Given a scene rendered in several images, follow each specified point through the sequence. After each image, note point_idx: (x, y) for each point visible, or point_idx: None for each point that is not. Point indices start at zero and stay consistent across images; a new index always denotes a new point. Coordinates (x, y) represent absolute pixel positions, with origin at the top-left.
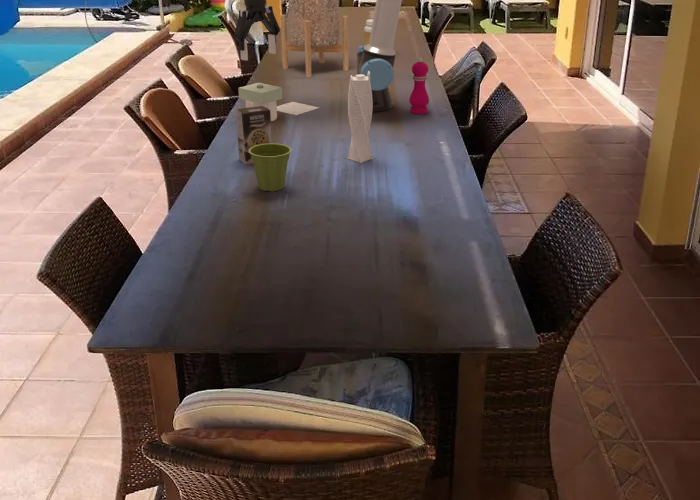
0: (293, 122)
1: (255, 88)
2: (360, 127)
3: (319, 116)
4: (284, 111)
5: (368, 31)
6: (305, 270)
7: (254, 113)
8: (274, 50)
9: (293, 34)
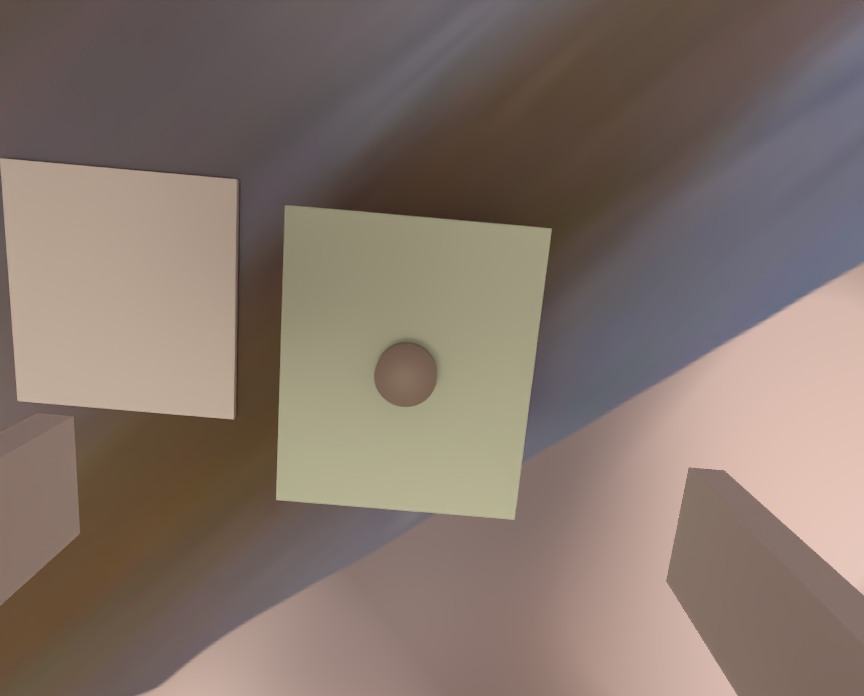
0: (359, 98)
1: (452, 386)
2: None
3: (145, 35)
4: (220, 298)
5: None
6: None
7: None
8: (27, 438)
9: None
